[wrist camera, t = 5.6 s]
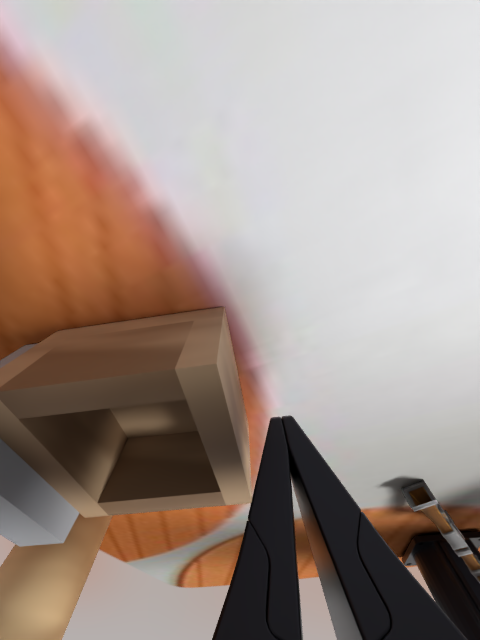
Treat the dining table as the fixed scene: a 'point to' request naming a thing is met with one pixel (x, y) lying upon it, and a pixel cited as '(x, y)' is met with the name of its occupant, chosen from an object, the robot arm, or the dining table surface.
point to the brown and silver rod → (441, 523)
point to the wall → (30, 498)
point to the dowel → (47, 582)
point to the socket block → (132, 415)
